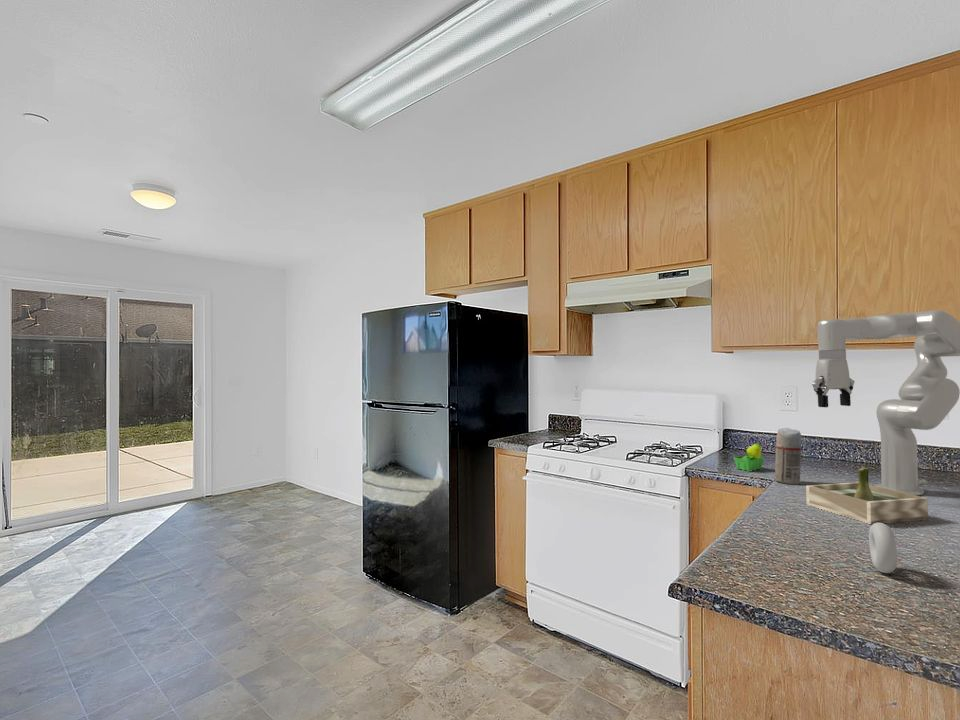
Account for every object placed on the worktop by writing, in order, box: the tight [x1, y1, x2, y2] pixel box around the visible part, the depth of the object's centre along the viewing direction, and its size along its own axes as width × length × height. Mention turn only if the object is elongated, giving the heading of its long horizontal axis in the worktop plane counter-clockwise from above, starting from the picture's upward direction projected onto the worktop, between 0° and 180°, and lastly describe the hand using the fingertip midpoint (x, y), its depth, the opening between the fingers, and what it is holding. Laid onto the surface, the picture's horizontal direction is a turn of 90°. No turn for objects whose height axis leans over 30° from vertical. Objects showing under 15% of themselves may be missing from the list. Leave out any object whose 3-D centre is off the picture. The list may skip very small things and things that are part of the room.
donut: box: [868, 523, 898, 574], centre depth 102 cm, size 10×4×10 cm, turn 151°
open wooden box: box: [805, 481, 929, 525], centre depth 144 cm, size 20×20×6 cm
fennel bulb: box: [854, 467, 875, 501], centre depth 145 cm, size 6×5×12 cm
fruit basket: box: [733, 443, 766, 472], centre depth 206 cm, size 11×9×11 cm
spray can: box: [774, 427, 802, 485], centre depth 183 cm, size 8×8×20 cm
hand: (834, 406), depth 165 cm, fingers open, 9 cm apart
